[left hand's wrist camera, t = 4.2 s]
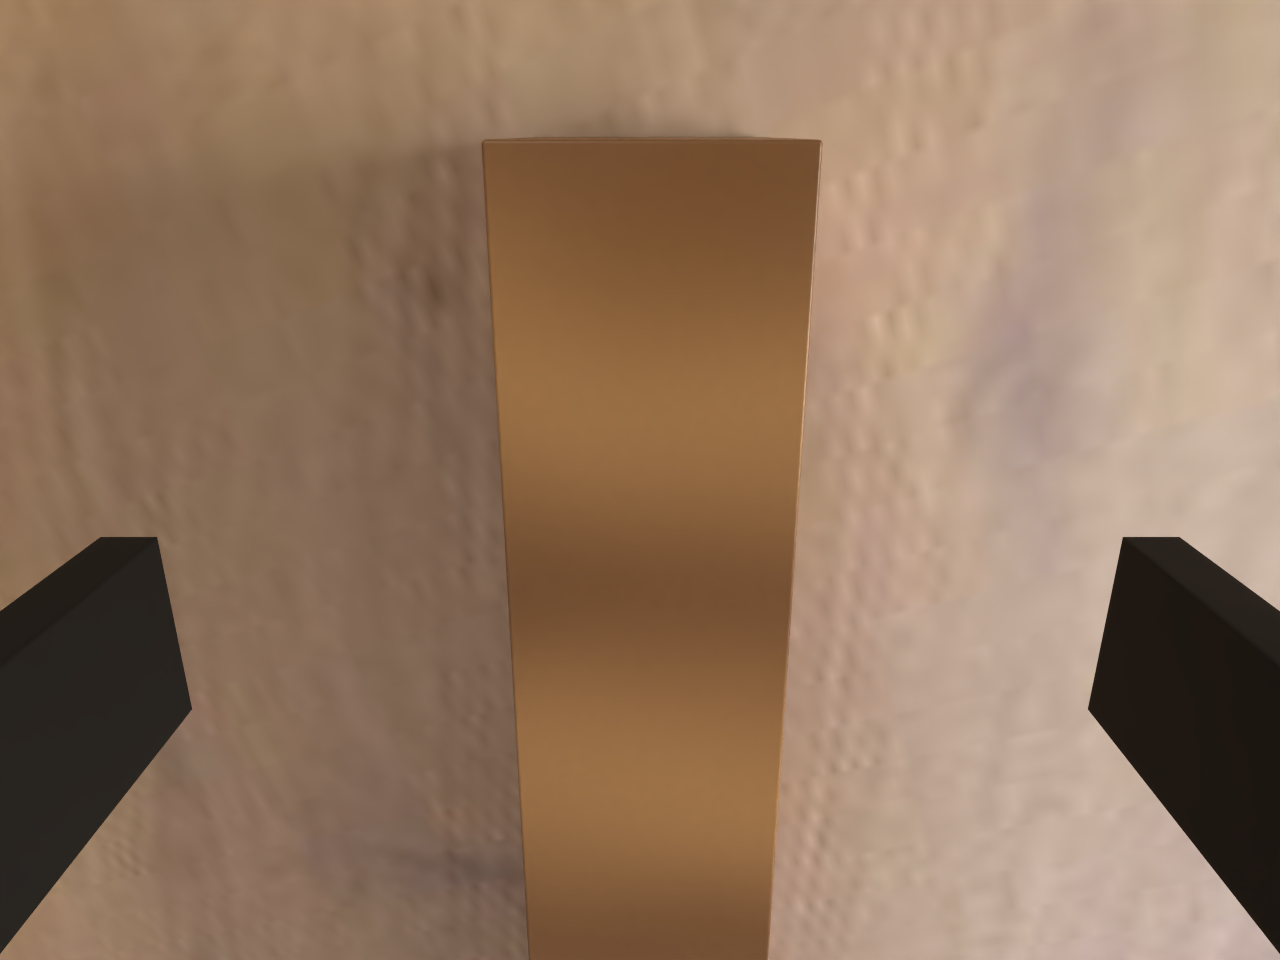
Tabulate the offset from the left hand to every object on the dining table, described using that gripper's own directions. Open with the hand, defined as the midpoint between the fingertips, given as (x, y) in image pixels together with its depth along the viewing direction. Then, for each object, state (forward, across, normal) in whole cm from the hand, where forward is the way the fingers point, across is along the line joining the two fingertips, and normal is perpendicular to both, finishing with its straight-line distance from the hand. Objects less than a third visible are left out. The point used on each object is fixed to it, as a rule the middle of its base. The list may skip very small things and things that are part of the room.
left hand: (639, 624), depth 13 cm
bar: (+13, 0, -29) cm, 32 cm away
